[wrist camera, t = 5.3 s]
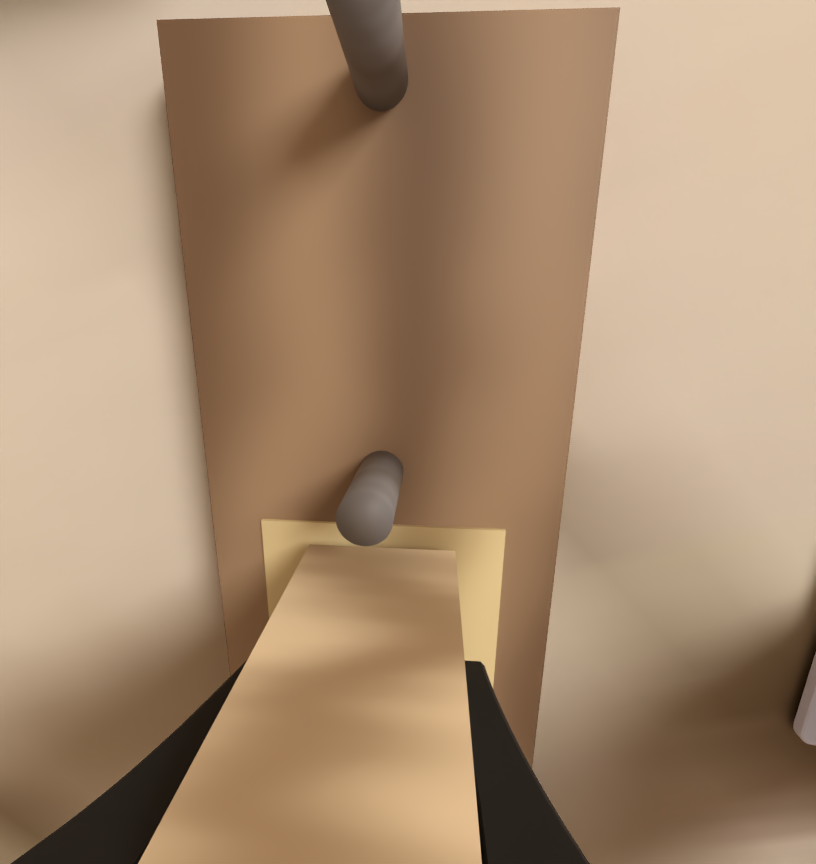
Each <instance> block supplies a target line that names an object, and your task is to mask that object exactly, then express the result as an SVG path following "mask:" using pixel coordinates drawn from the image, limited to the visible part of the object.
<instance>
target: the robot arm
mask: <svg viewBox="0 0 816 864" xmlns="http://www.w3.org/2000/svg"><path fill="white" fill-rule="evenodd" d="M247 660H248V659H247ZM247 660H246V661H245V662H244V663H243V664H242V665H241V666H240V667H239V668H238V669H237V670H236V671H235V672H234V673H233V674H232V675H231V676H230V677H229V678H228V679H227V680H226V682H225V683H224V684H223V685H222V686H221V687H220V688H219V689H218V690H217V691H216V692H215V693H214V694H213V695H212V696H211V697H210V698H209V699H208V700H207V701H206V702H205V703H203V704H202V705H201V706H200V707H199V708H198V709H197V710H196V711H195V712H194V713H193V714H192V715H191V716H190V717H189V718H188V719H187V720H186V721H185V722H184V723H183V724H182V725H181V726H180V727H179V728H178V729H177V730H176V731H174V732H173V733H172V734H171V735H170V736H169V737H168V738H167V739H166V740H165V741H163V742H162V743H161V744H160V745H159V746H158V747H157V748H156V749H155V750H154V751H152V752H151V753H150V754H149V755H148V756H147V757H146V758H145V759H144V760H142V761H141V762H140V763H139V764H138V765H137V766H136V767H135V768H133V769H132V770H131V771H130V772H129V773H128V774H126V775H125V776H124V777H123V778H122V779H121V780H119V781H118V782H117V783H116V784H115V785H113V786H112V787H111V788H110V789H109V790H107V791H106V792H105V793H104V794H102V795H101V796H100V797H99V798H97V799H96V800H95V801H94V802H92V803H91V804H90V805H89V806H88V807H86V808H85V809H84V810H83V811H81V812H80V813H79V814H77V815H76V816H75V817H74V818H72V819H71V820H70V821H68V822H67V823H66V824H64V825H63V826H62V827H60V828H59V829H58V830H56V831H55V832H54V833H52V834H51V835H49V836H48V837H47V838H45V839H44V840H43V841H41V842H40V843H39V844H37V845H36V846H34V847H33V848H32V849H30V850H29V851H28V852H26V853H25V854H24V855H22V856H21V857H19V858H18V859H17V860H15V861H14V862H13V863H11V864H138V863H139V861H140V859H141V857H142V855H143V853H144V852H145V850H146V848H147V846H148V844H149V842H150V840H151V839H152V837H153V835H154V833H155V831H156V829H157V827H158V826H159V824H160V822H161V820H162V818H163V816H164V814H165V813H166V811H167V809H168V807H169V805H170V803H171V801H172V799H173V798H174V796H175V794H176V792H177V790H178V788H179V786H180V785H181V783H182V781H183V779H184V777H185V775H186V773H187V772H188V770H189V768H190V766H191V764H192V762H193V760H194V759H195V757H196V755H197V753H198V751H199V749H200V747H201V745H202V744H203V742H204V740H205V738H206V736H207V734H208V732H209V731H210V729H211V727H212V725H213V723H214V721H215V719H216V718H217V716H218V714H219V712H220V710H221V708H222V706H223V705H224V703H225V701H226V699H227V697H228V695H229V693H230V691H231V690H232V688H233V686H234V684H235V682H236V680H237V678H238V677H239V675H240V673H241V671H242V669H243V667H244V665H245V664H246V662H247ZM465 670H466V682H467V694H468V706H469V717H470V729H471V741H472V753H473V765H474V776H475V788H476V800H477V812H478V823H479V835H480V847H481V859H482V864H590V863H589V862H588V861H587V859H586V858H585V856H584V854H583V853H582V851H581V850H580V848H579V847H578V845H577V844H576V842H575V841H574V839H573V837H572V836H571V834H570V833H569V831H568V830H567V828H566V826H565V825H564V823H563V822H562V820H561V818H560V817H559V815H558V813H557V812H556V810H555V808H554V807H553V805H552V803H551V802H550V800H549V798H548V797H547V795H546V793H545V791H544V790H543V788H542V786H541V784H540V783H539V781H538V779H537V777H536V776H535V774H534V772H533V770H532V768H531V767H530V765H529V763H528V761H527V759H526V757H525V755H524V753H523V751H522V749H521V747H520V746H519V744H518V742H517V740H516V738H515V736H514V734H513V732H512V730H511V728H510V726H509V724H508V722H507V719H506V717H505V715H504V713H503V711H502V708H501V706H500V704H499V702H498V700H497V697H496V695H495V692H494V690H493V688H492V685H491V682H490V680H489V677H488V674H487V671H486V668H485V666H484V665H483V664H482V662H481V661H466V660H465ZM793 729H794V731H795V733H796V734H797V735H798V736H799V737H800V738H801V739H802V741H804V742H805V743H807V744H810V745H816V653H815V656H814V659H813V662H812V666H811V669H810V672H809V675H808V678H807V682H806V685H805V688H804V691H803V695H802V698H801V701H800V704H799V707H798V711H797V714H796V717H795V720H794V724H793Z"/></svg>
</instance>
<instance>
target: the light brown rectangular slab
mask: <svg viewBox="0 0 816 864" xmlns="http://www.w3.org/2000/svg"><path fill="white" fill-rule="evenodd" d="M138 864H482V859H481V847H480V835H479V823H478V812H477V800H476V788H475V776H474V765H473V753H472V741H471V729H470V717H469V706H468V694H467V682H466V670H465V659H464V647H463V635H462V623H461V612H460V600H459V588H458V576H457V565H456V553H455V551H445V550H423V549H401V548H379V547H357V546H335V545H314V544H309V546H308V548H307V550H306V552H305V554H304V556H303V557H302V559H301V561H300V563H299V565H298V567H297V569H296V570H295V572H294V574H293V576H292V578H291V580H290V582H289V584H288V585H287V587H286V589H285V591H284V593H283V595H282V597H281V598H280V600H279V602H278V604H277V606H276V608H275V610H274V611H273V613H272V615H271V617H270V619H269V621H268V623H267V624H266V626H265V628H264V630H263V632H262V634H261V636H260V638H259V639H258V641H257V643H256V645H255V647H254V649H253V651H252V652H251V654H250V656H249V658H248V660H247V662H246V664H245V665H244V667H243V669H242V671H241V673H240V675H239V677H238V678H237V680H236V682H235V684H234V686H233V688H232V690H231V691H230V693H229V695H228V697H227V699H226V701H225V703H224V705H223V706H222V708H221V710H220V712H219V714H218V716H217V718H216V719H215V721H214V723H213V725H212V727H211V729H210V731H209V732H208V734H207V736H206V738H205V740H204V742H203V744H202V745H201V747H200V749H199V751H198V753H197V755H196V757H195V759H194V760H193V762H192V764H191V766H190V768H189V770H188V772H187V773H186V775H185V777H184V779H183V781H182V783H181V785H180V786H179V788H178V790H177V792H176V794H175V796H174V798H173V799H172V801H171V803H170V805H169V807H168V809H167V811H166V813H165V814H164V816H163V818H162V820H161V822H160V824H159V826H158V827H157V829H156V831H155V833H154V835H153V837H152V839H151V840H150V842H149V844H148V846H147V848H146V850H145V852H144V853H143V855H142V857H141V859H140V861H139V863H138Z"/></svg>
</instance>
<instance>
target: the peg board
mask: <svg viewBox="0 0 816 864" xmlns="http://www.w3.org/2000/svg"><path fill="white" fill-rule="evenodd" d="M326 2H327V5H328V8H329V11H330V14H331V15H323V16H286V17H249V18H212V19H175V20H157V27H158V36H159V45H160V54H161V63H162V72H163V81H164V90H165V98H166V107H167V116H168V125H169V134H170V143H171V152H172V161H173V170H174V178H175V187H176V196H177V205H178V214H179V223H180V232H181V241H182V250H183V259H184V267H185V276H186V285H187V294H188V303H189V312H190V321H191V330H192V339H193V348H194V356H195V365H196V374H197V383H198V392H199V401H200V410H201V419H202V428H203V436H204V445H205V454H206V463H207V472H208V481H209V490H210V499H211V508H212V517H213V525H214V534H215V543H216V552H217V561H218V570H219V579H220V588H221V597H222V605H223V614H224V623H225V632H226V641H227V650H228V659H229V668H230V676H231V675H232V674H233V673H234V672H235V671H236V670H237V669H238V668H239V667H240V666H241V665H242V664H243V663H244V662H245V661H246V660H247V659H248V658H249V656H250V654H251V652H252V651H253V649H254V647H255V645H256V643H257V641H258V639H259V638H260V636H261V634H262V632H263V630H264V628H265V626H266V624H267V623H268V621H269V619H270V617H271V615H272V613H273V611H274V610H275V608H276V606H277V604H278V602H279V600H280V598H281V597H282V595H283V593H284V591H285V589H286V587H287V585H288V584H289V582H290V580H291V578H292V576H293V574H294V572H295V570H296V569H297V567H298V565H299V563H300V561H301V559H302V557H303V556H304V554H305V552H306V550H307V548H308V546H309V544H314V545H335V546H357V547H379V548H401V549H423V550H445V551H455V553H456V565H457V576H458V588H459V600H460V612H461V623H462V635H463V647H464V659H465V660H466V661H481V662H482V664H483V665H484V666H485V668H486V671H487V674H488V677H489V680H490V682H491V685H492V688H493V690H494V692H495V695H496V697H497V700H498V702H499V704H500V706H501V708H502V711H503V713H504V715H505V717H506V719H507V722H508V724H509V726H510V728H511V730H512V732H513V734H514V736H515V738H516V740H517V742H518V744H519V746H520V747H521V749H522V751H523V753H524V755H525V757H526V759H527V761H528V763H529V765H530V767H531V768H532V763H533V754H534V746H535V737H536V728H537V720H538V711H539V702H540V694H541V685H542V677H543V668H544V659H545V651H546V642H547V633H548V625H549V616H550V608H551V599H552V590H553V582H554V573H555V564H556V556H557V547H558V539H559V530H560V521H561V513H562V504H563V495H564V487H565V478H566V470H567V461H568V452H569V444H570V435H571V426H572V418H573V409H574V401H575V392H576V383H577V375H578V366H579V357H580V349H581V340H582V332H583V323H584V314H585V306H586V297H587V288H588V280H589V271H590V263H591V254H592V245H593V237H594V228H595V219H596V211H597V202H598V194H599V185H600V176H601V168H602V159H603V150H604V142H605V133H606V125H607V116H608V107H609V99H610V90H611V81H612V73H613V64H614V56H615V47H616V38H617V30H618V21H619V12H620V8H583V9H546V10H509V11H471V12H434V13H401V4H400V0H326Z"/></svg>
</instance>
